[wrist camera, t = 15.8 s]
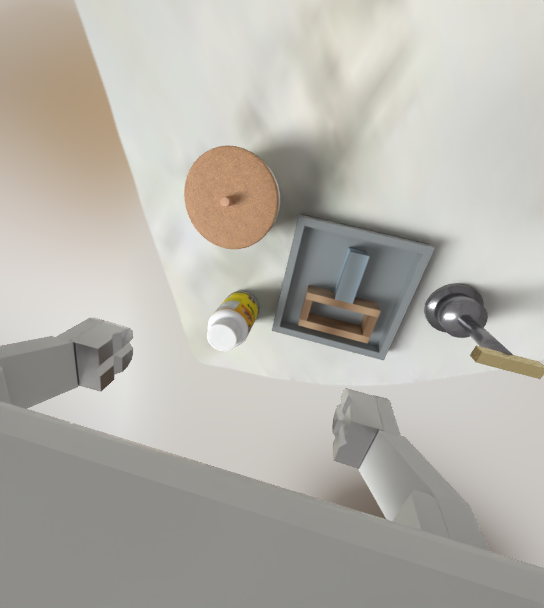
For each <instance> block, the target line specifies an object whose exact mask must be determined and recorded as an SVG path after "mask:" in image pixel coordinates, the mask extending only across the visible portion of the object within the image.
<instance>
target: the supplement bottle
mask: <svg viewBox="0 0 544 608" xmlns="http://www.w3.org/2000/svg"><path fill="white" fill-rule="evenodd" d="M258 313H259V306H258V303H257V301H256V299H255V298H254V297H253V296H252V295H251V294H249V293H247V292H243V291H237V292H234V293H232V294H230V295H229V296H228V297H227V298H226V299H225V300H224V302H223V303H222V304H221V305H220V306H219V308H218V309H217V310H216V311H215V312H214V313H213V314H212V316H211V317H210V319H209V321H208V332H207V339H208V341H209V343H210V345H211V346H212V347H213V348H215V349H217V350H219V351H229V350H231V349H233V348H234V347H236V346H239V345H240V344H242V343H243V342H244V341H245V339H246V338H247V336H248V334H249V332H250V330H251V328H252V326H253V324H254V322H255V320H256V318H257V316H258Z"/></svg>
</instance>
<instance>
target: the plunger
mask: <svg viewBox="0 0 544 608" xmlns="http://www.w3.org/2000/svg"><path fill="white" fill-rule="evenodd" d="M424 313H425V317H426V319H427V320H428V322H429V323H430V324H431V326H433V327H434V328H435V329H437V330H439V331H442V332H447V333H448V334H450V335H452V336H454V337H459V338H465V337H470V336H471V337H472V338H473V339H474V340H475V341H476V343H477V344H478V345H479V346H475V348H474V350H473V351H472V353H471V355H470V356H471V357H472V358H473V359H474V361H475V362H477V363H480V364H484V365H488V366H492V367H496V368H500V369H503V370H507V371H511V372H515V373H519V374H523V375H527V376H531V377H535V378H538V379H541V377H542V376H543V374H544V365H542V364H541V363H540V362H538V361H535V360H531V359H527V358H523V357H519V356H515V355H513V354H512V353H511V352H509V351H508V350H507V349H506V348H505V347H504V346H503V345H502V344H501V343H500V342H498V341H497V340H496V339H495V338H494V337H493V336H492V335H491V334H490V333H489V332H487V331H486V330H485V329H484V326H485V325H486V322H487V318H488V316H487V312H486V310H485V309H484V307H483V300H482V297H481V295H480V294H479V293H478V292H477V291H476V290H474V289H473V288H471V287H469V286H467V285H464V284H449V285H446V286H443V287H441V288H439V289H437V290H436V291H435V292H433V293H432V294H431V295H430V297H429V298H428V300H427V301H426V304H425V308H424Z"/></svg>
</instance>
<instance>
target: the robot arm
mask: <svg viewBox="0 0 544 608" xmlns="http://www.w3.org/2000/svg"><path fill="white" fill-rule="evenodd" d="M132 339H133V331H132V330H131V329H130V328H128V327H124V326H121V325H117V324H114V323H111V322H108V321H104V320H100V319H97V318H89V319H87V320H85V321H83V322H81V323H80V324H78V325H76V326H74V327H73V328H71V329H69V330H67V331H66V332H64V333H62V334H60V335H58V336H57V337H52V336H50V337H44V338H39V339H34V340H29V341H23V342H19V343H13V344H8V345H2V346H0V608H544V568H542V567H539V566H535V565H532V564H529V563H525V562H523V561H519V560H516V559H513V558H510V557H506V556H503V555H500V554H496V553H493V552H491V551H490V550H489V547H488V545H487V543H486V540H485V538H484V536H483V534H482V531H481V529H480V527H479V525H478V523H477V520H476V518H475V516H474V514H473V512H472V509H471V507H470V505H469V504H468V503H467V502H466V501H465V500H464V499H463V498H462V497H461V496H460V495H459V494H458V493H457V492H456V490H455V489H454V488H453V487H452V486H451V485H450V484H449V483H448V482H447V481H446V480H445V479H444V478H443V477H442V476H441V475H440V473H438V471H437V470H436V469H435V468H434V467H433V466H432V465H431V464H430V463H429V462H428V461H427V460H426V459H425V458H424V457H423V456H422V454H421V453H420V452H419V451H418V450H417V449H416V448H415V447H414V446H413V445H412V444H411V443H410V442H409V441H408V440H407V439H406V438H405V437H403V436H401V435H400V432H399V429H398V426H397V423H396V419H395V416H394V413H393V410H392V407H391V403H390V401H389V400H388V399H387V398H382V397H379V396H374V395H373V396H372V395H368V394H365V393H361V392H358V391H354V390H350V389H347V388H345V390H344V391H343V393H342V396H341V402H342V404H340V405H338V406H337V408H336V411H335V414H334V418H333V434H334V435H335V440H334V442H333V454H334V461H337V462H340V463H343V464H346V465H349V466H352V467H355V468H358V469H359V471H360V473H361V475H362V477H363V479H364V480H365V482H366V484H367V485H368V487H369V489H370V491H371V493H372V494H373V496H374V498H375V499H376V501H377V503H378V505H379V507H380V508H381V510H382V512H383V514H384V515H385V517H386V519H387V520H386V519H383V518H380V517H376V516H373V515H370V514H366V513H363V512H360V511H357V510H353V509H350V508H347V507H344V506H341V505H337V504H334V503H331V502H327V501H324V500H321V499H318V498H314V497H311V496H308V495H305V494H301V493H298V492H295V491H291V490H288V489H285V488H282V487H279V486H275V485H272V484H269V483H266V482H262V481H259V480H256V479H253V478H250V477H246V476H243V475H240V474H237V473H233V472H230V471H227V470H224V469H220V468H217V467H214V466H210V465H208V464H204V463H201V462H198V461H194V460H191V459H188V458H185V457H181V456H178V455H175V454H172V453H168V452H165V451H162V450H159V449H155V448H152V447H149V446H146V445H142V444H139V443H136V442H132V441H129V440H126V439H123V438H120V437H116V436H113V435H109V434H107V433H103V432H100V431H96V430H93V429H90V428H87V427H84V426H81V425H77V424H74V423H71V422H68V421H64V420H61V419H58V418H54V417H51V416H48V415H44V414H42V413H38V412H35V411H32V410H28V409H27V408H29V407H32V406H34V405H36V404H39V403H41V402H43V401H46V400H48V399H50V398H53V397H55V396H57V395H60V394H62V393H65V392H67V391H69V390H72V389H74V388H76V387H78V386H82V387H86V388H90V389H94V390H97V391H102V390H103V389H104V388H105V387H107V386H108V385H109V384H110V383H111V382H112V381H113V380H114V374H117V373H120V372H123V371H124V370H125V369H126V368H127V367H128V365H129V363H130V361H131V360H132V356H133V347H132V346H131V344H130V343H129V342H130V341H131V340H132Z"/></svg>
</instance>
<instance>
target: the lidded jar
mask: <svg viewBox="0 0 544 608" xmlns="http://www.w3.org/2000/svg"><path fill="white" fill-rule="evenodd" d="M184 197H185V205H186V209H187V212H188V215H189V218H190V220H191V222H192V223H193V225H194V227H195V228H196V229H197V231H198V232H199V233H200V234H201V235H202V236H203V237H204V238H205V239H207V240H208V241H210V242H211V243H213V244H215V245H217V246H220V247H223V248H228V249H241V248H246V247H249V246H251V245H253V244H255V243H257V242H258V241H260V240H261V239H262V238H263V237H264V236H265V235H266V234H267V233H268V232H269V230H270V229H271V227H272V226H273V224H274V222H275V220H276V218H277V215H278V212H279V208H280V191H279V186H278V183H277V180H276V178H275V176H274V174H273V172H272V171H271V169H270V168H269V167H268V165H267V164H266V163H265V162H263V161H262V160H261V159H260V158H259V157H258V156H256V155H255V154H253V153H252V152H250V151H248V150H246V149H243V148H240V147H236V146H220V147H216V148H213V149H211V150H209V151H207V152H205V153H204V154H203V155H201V156H200V157H199V158H198V159H197V160H196V161H195V162H194V164H193V166H192V167H191V169H190V171H189V173H188V176H187V179H186V183H185V190H184Z"/></svg>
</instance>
